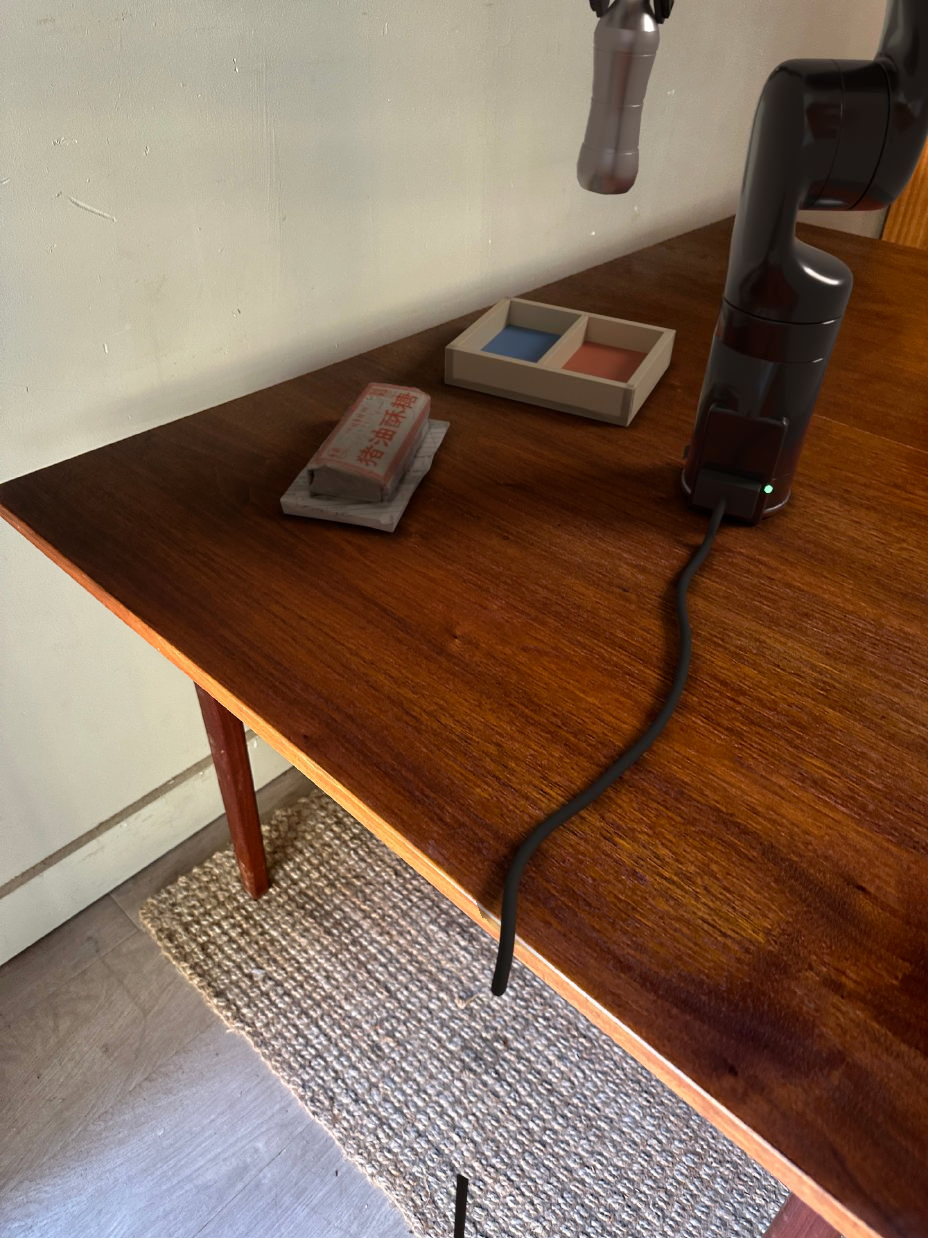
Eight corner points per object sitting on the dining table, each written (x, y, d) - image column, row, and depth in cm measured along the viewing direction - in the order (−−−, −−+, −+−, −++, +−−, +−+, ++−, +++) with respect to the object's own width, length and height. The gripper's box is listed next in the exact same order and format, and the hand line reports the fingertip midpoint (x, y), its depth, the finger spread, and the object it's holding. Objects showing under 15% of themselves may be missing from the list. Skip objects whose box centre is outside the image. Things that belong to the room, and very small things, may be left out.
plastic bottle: (630, 205, 97) (671, -22, 84) (568, 196, 98) (598, -30, 85) (636, 188, 102) (675, -29, 89) (576, 180, 103) (606, -37, 90)
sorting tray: (627, 426, 90) (633, 389, 87) (444, 383, 96) (445, 346, 93) (669, 364, 101) (676, 329, 98) (503, 329, 107) (505, 295, 104)
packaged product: (349, 371, 86) (451, 386, 85) (351, 417, 89) (449, 432, 88) (274, 466, 73) (393, 485, 71) (280, 516, 76) (394, 536, 74)
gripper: (516, -110, 77) (553, 40, 93) (683, -100, 72) (692, 55, 88) (545, -190, 77) (577, -27, 93) (713, -186, 73) (716, -16, 89)
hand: (633, 12), depth 91 cm, fingers closed on plastic bottle, 5 cm apart
